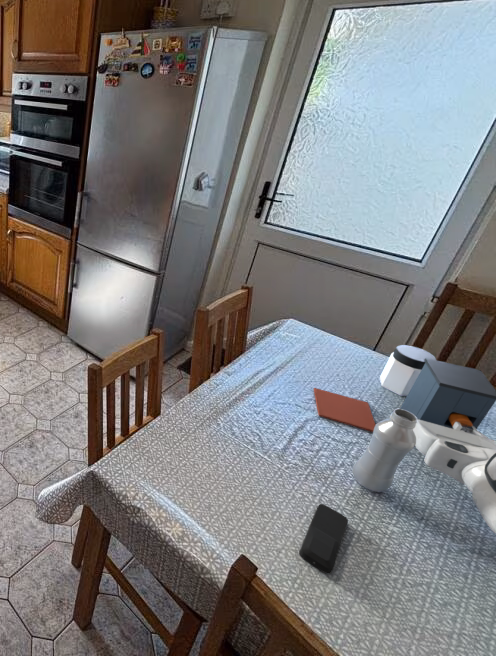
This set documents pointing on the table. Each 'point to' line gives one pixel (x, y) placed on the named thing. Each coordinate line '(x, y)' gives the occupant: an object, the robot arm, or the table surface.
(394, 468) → the plastic bottle
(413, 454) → the table surface
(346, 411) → the mat
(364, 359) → the table surface
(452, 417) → the tap button
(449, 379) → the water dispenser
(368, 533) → the table surface
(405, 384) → the jar
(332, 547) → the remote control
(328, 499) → the table surface
